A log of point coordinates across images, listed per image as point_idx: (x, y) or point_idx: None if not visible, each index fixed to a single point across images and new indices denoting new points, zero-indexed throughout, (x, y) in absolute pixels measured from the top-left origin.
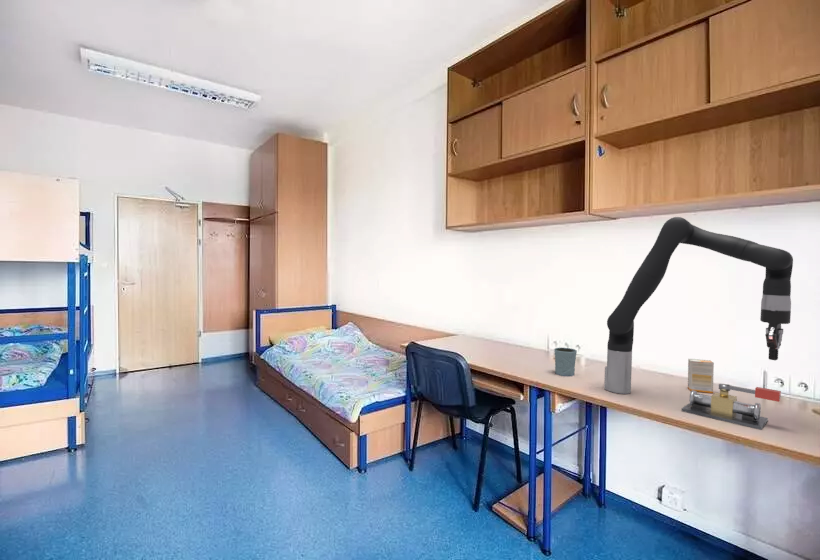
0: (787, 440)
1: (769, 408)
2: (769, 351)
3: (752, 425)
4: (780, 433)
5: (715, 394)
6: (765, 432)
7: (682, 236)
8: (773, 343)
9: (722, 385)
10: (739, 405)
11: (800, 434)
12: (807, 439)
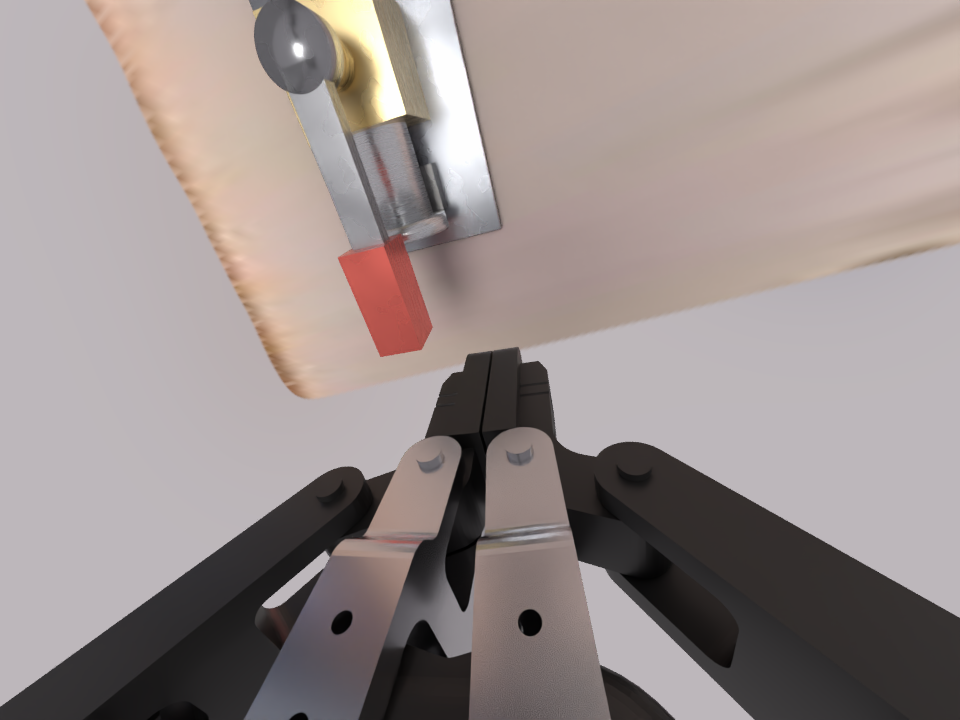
0: (350, 338)
1: (763, 129)
2: (457, 411)
3: None
4: None
5: (307, 4)
6: None
7: None
8: (573, 522)
9: (261, 50)
10: None
11: (450, 338)
12: (420, 362)
